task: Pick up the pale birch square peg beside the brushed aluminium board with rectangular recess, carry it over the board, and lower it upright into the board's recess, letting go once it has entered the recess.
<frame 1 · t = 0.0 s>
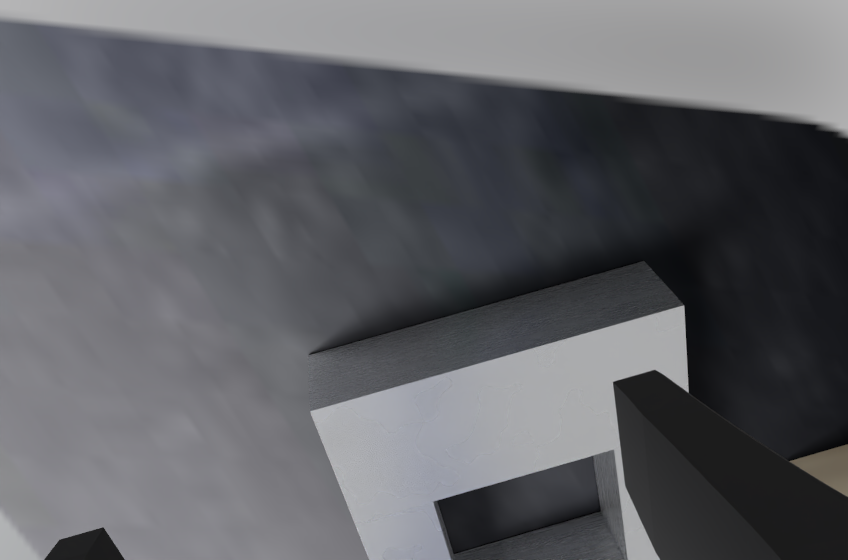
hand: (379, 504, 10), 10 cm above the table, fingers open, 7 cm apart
board with rectangular recess: (524, 519, 26), on the table
peg: (819, 490, 28), on the table
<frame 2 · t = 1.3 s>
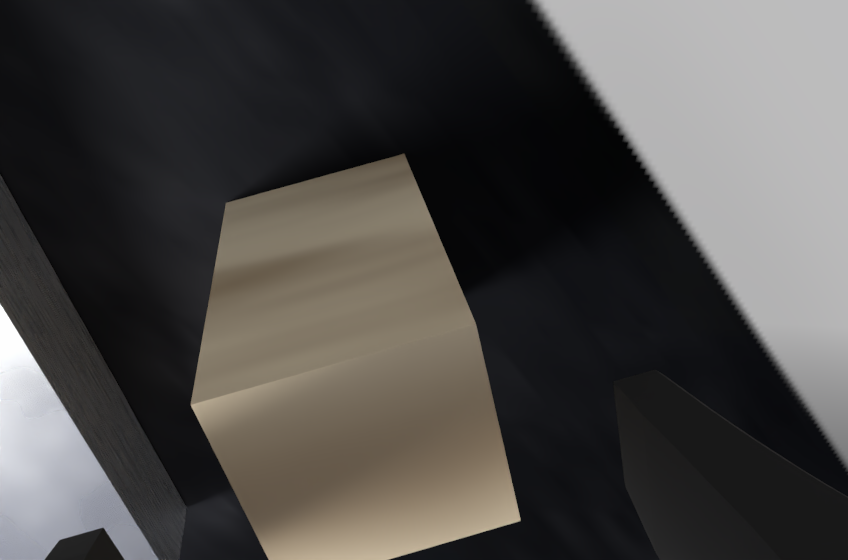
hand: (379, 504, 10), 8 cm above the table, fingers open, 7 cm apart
peg: (340, 256, 17), on the table
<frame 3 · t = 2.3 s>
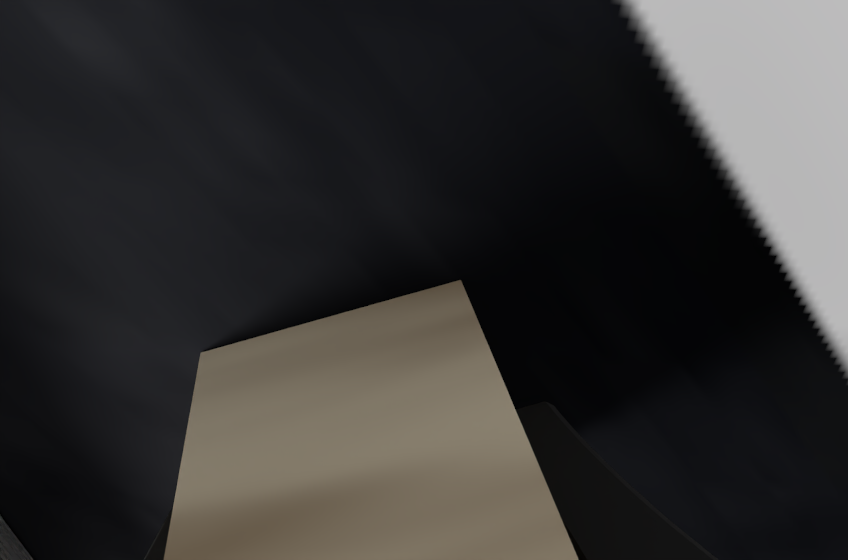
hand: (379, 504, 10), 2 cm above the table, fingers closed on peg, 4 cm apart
peg: (366, 415, 12), on the table, touching gripper
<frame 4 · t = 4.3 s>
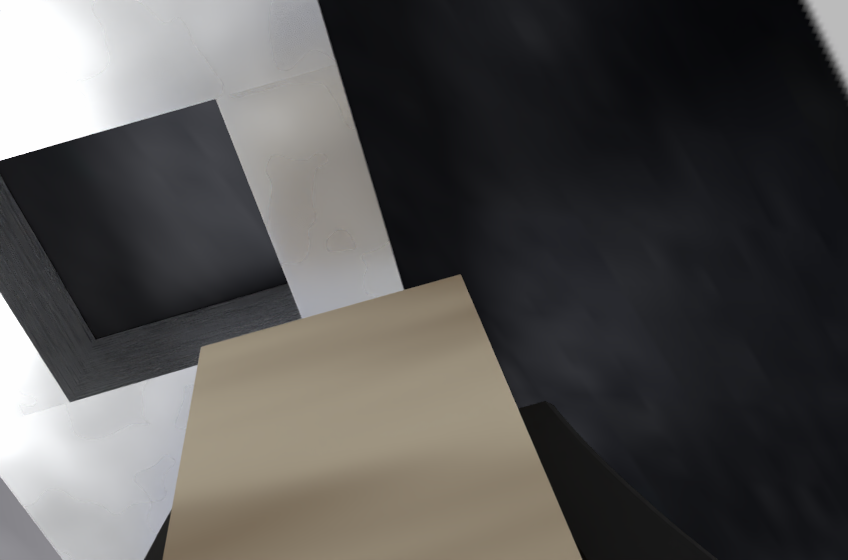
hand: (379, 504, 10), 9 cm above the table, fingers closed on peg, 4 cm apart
board with rectangular recess: (189, 285, 18), on the table
peg: (366, 410, 12), point 7 cm above the table, touching gripper
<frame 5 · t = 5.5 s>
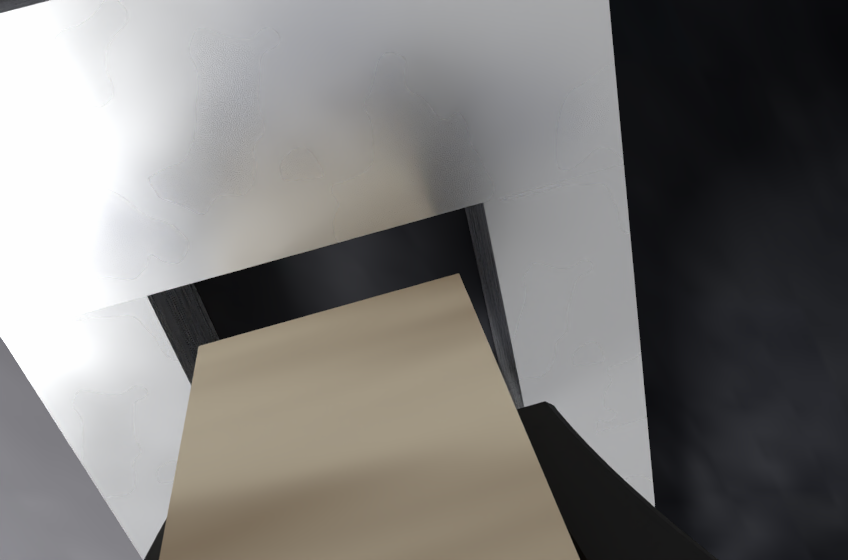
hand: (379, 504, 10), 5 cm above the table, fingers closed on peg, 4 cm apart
board with rectangular recess: (375, 383, 16), on the table
peg: (364, 409, 12), point 3 cm above the table, touching gripper
when the fingers open (4 cm above the table, at t = 6.3 s): peg drops 2 cm, resting in board with rectangular recess.
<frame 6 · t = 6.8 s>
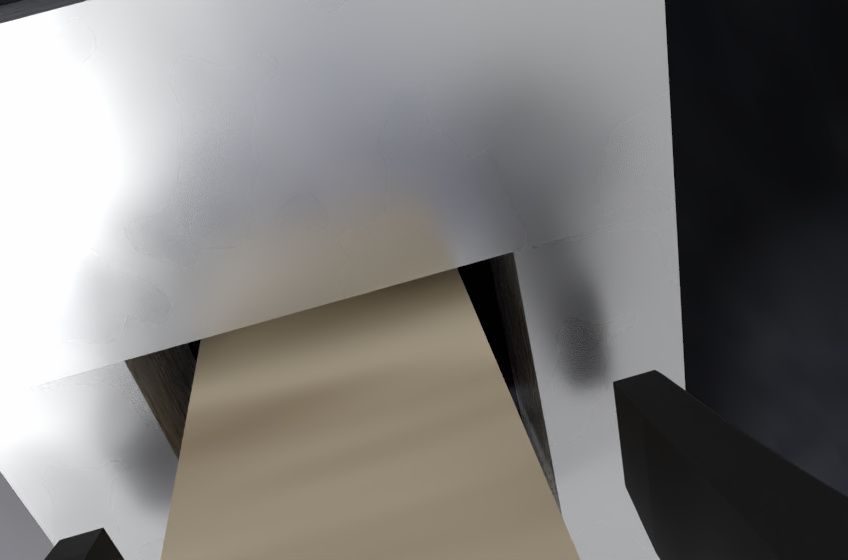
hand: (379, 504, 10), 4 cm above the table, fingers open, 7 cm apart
board with rectangular recess: (385, 437, 14), on the table
peg: (357, 351, 13), resting in board with rectangular recess
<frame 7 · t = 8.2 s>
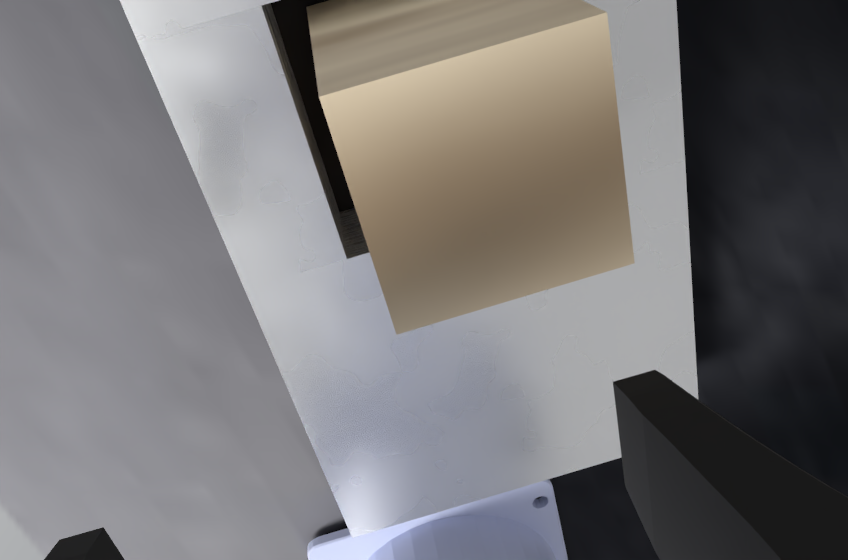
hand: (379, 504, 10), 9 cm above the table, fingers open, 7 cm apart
board with rectangular recess: (438, 155, 18), on the table
peg: (418, 71, 17), resting in board with rectangular recess
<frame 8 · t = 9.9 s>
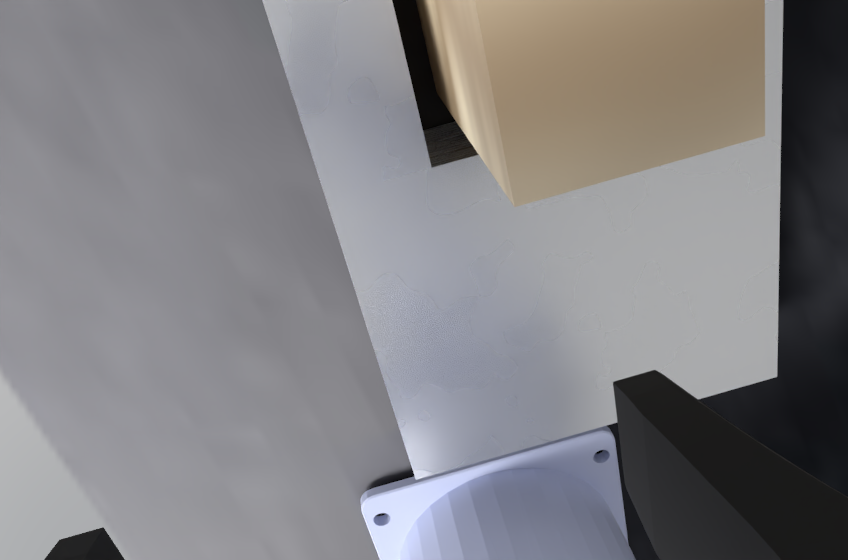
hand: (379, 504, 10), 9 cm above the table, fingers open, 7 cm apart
board with rectangular recess: (518, 74, 17), on the table
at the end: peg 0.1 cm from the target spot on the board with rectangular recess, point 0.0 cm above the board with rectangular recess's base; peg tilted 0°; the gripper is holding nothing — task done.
